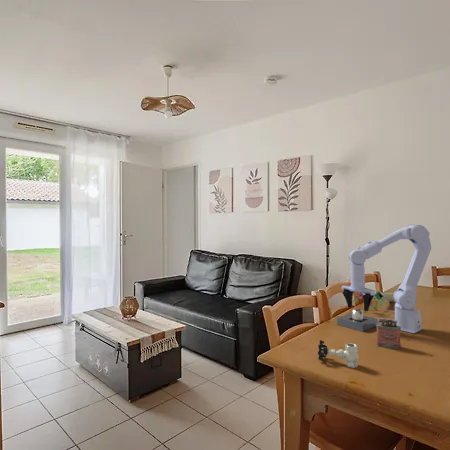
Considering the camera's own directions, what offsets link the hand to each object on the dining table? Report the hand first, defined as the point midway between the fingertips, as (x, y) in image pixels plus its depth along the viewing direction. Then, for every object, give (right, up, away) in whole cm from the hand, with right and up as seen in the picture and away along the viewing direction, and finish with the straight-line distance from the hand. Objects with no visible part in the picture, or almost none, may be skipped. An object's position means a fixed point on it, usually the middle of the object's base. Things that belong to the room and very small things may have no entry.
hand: (358, 309), depth 141 cm
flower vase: (+23, -7, +29) cm, 38 cm away
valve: (-21, -9, -35) cm, 42 cm away
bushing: (0, -8, 0) cm, 8 cm away
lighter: (+2, -8, -22) cm, 24 cm away
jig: (0, -7, +1) cm, 8 cm away
